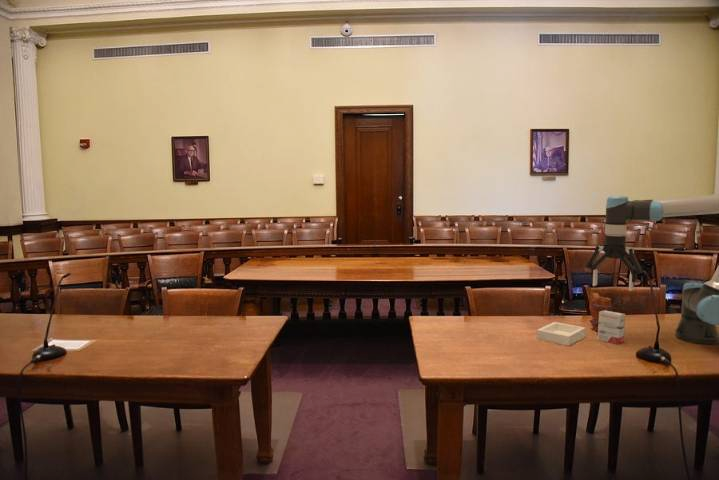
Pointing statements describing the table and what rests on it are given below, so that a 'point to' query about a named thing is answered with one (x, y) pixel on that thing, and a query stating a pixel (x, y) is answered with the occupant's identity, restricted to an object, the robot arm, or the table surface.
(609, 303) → the mug
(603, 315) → the ink box
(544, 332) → the tray
